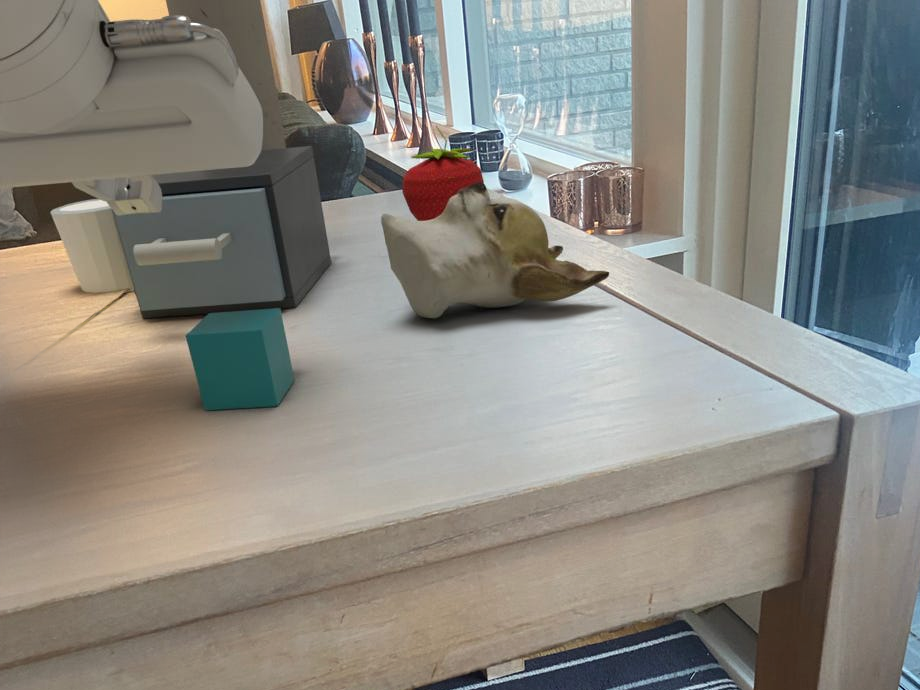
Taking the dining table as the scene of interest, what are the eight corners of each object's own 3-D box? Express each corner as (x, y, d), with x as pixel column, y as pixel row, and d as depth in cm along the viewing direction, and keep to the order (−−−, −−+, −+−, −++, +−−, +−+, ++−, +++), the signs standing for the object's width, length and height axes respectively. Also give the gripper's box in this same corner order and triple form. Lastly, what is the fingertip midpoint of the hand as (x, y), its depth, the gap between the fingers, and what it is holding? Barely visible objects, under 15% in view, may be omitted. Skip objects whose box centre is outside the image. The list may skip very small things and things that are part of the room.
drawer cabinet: (295, 307, 75) (270, 173, 70) (142, 318, 76) (105, 187, 71) (331, 263, 87) (312, 145, 82) (198, 273, 88) (170, 158, 83)
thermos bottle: (214, 263, 91) (127, -107, 76) (235, 244, 98) (159, -99, 82) (295, 256, 91) (225, -118, 75) (311, 238, 97) (250, -110, 81)
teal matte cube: (204, 411, 57) (185, 335, 54) (226, 384, 61) (208, 313, 58) (277, 406, 57) (261, 330, 54) (294, 380, 60) (280, 307, 58)
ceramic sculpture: (364, 178, 68) (561, 164, 72) (374, 302, 73) (558, 284, 76) (395, 202, 60) (617, 184, 63) (405, 341, 65) (610, 318, 68)
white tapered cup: (63, 292, 86) (36, 209, 83) (131, 274, 90) (109, 194, 86) (98, 302, 82) (71, 214, 78) (168, 282, 86) (146, 198, 82)
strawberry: (399, 252, 88) (383, 131, 83) (471, 237, 91) (460, 118, 85) (426, 262, 84) (411, 135, 78) (501, 246, 86) (492, 122, 81)
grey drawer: (267, 318, 70) (243, 202, 65) (118, 328, 71) (84, 216, 66) (318, 259, 85) (301, 162, 80) (194, 268, 86) (171, 173, 81)
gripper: (217, -39, 48) (296, 148, 62) (-157, 2, 50) (-1, 174, 64) (212, 69, 47) (294, 235, 61) (-170, 107, 49) (-8, 260, 63)
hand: (141, 204), depth 62 cm, fingers closed
